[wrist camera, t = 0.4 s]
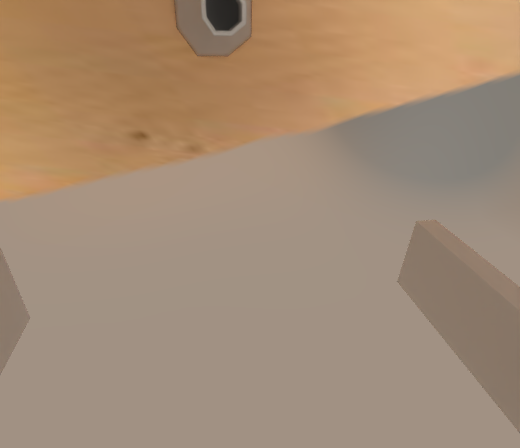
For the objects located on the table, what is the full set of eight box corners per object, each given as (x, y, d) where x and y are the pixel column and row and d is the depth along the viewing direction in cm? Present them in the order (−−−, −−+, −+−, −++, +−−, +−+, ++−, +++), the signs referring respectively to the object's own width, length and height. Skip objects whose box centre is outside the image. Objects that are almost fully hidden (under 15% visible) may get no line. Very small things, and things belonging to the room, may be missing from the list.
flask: (192, 68, 33) (194, 83, 24) (159, -19, 29) (147, -37, 21) (262, 43, 33) (288, 49, 24) (238, -48, 29) (259, -78, 21)
